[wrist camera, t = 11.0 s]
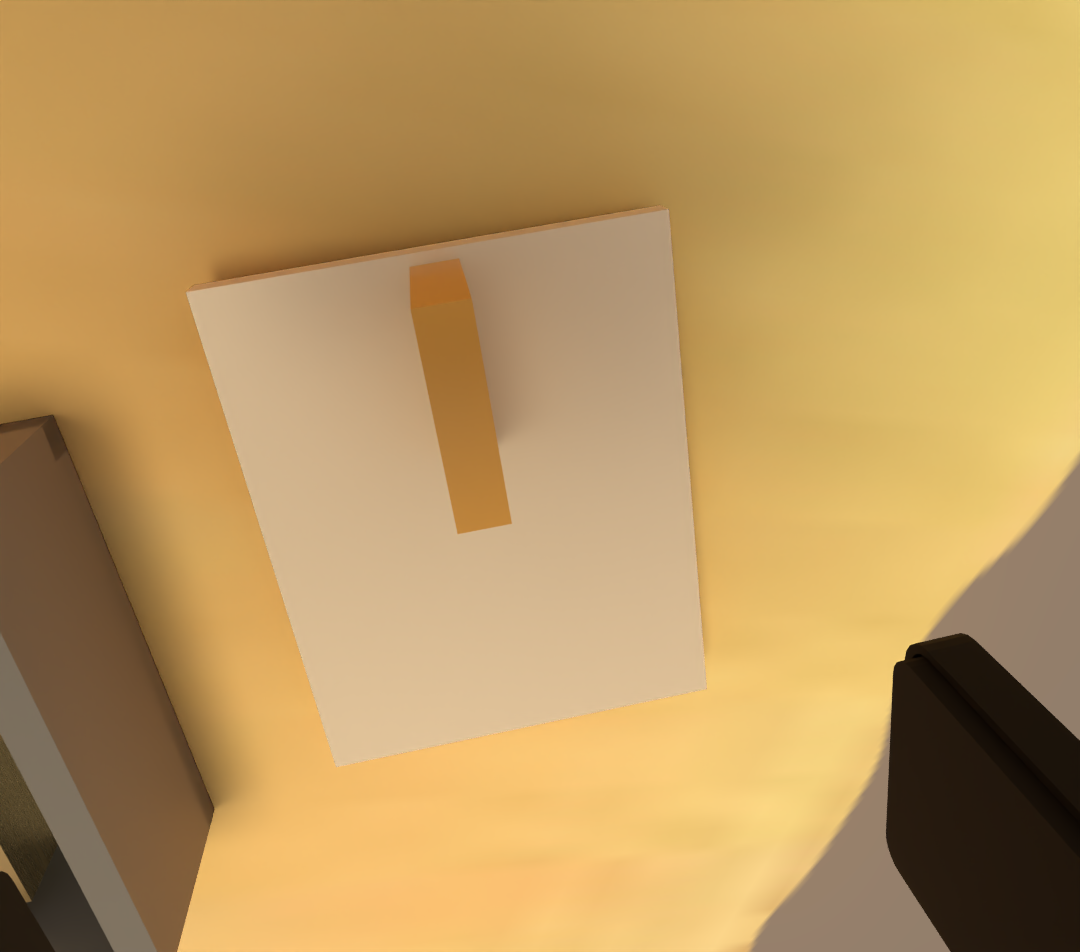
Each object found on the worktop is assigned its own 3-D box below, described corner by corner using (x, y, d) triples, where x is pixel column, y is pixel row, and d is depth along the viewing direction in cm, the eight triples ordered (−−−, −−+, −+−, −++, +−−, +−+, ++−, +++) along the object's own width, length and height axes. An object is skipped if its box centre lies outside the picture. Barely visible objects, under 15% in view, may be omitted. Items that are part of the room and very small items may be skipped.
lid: (201, 277, 22) (132, 342, 16) (650, 200, 23) (729, 237, 17) (340, 727, 28) (323, 887, 23) (689, 655, 29) (758, 791, 23)
